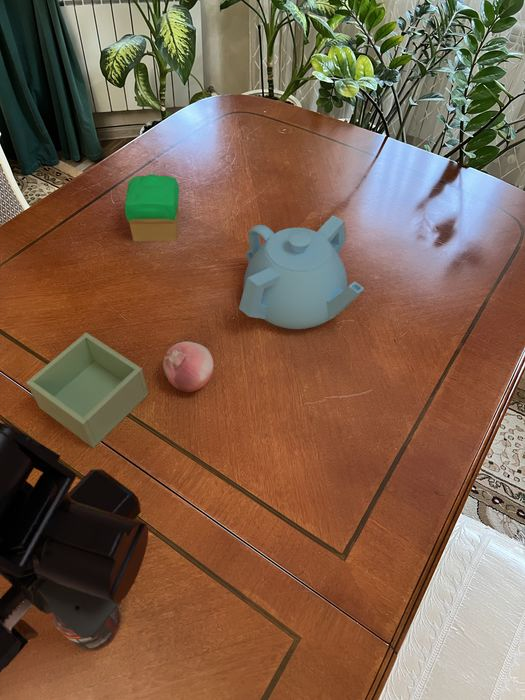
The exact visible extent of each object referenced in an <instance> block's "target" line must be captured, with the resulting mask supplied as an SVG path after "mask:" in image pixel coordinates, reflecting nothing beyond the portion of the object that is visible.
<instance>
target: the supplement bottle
mask: <svg viewBox="0 0 525 700" xmlns="http://www.w3.org/2000/svg"><path fill="white" fill-rule="evenodd" d="M118 607H119V606H117V608H116V609H115V610H114V611H113V613H112V614H111V615H110V616H109V617H108V619H107V620H106V621H105V622H104V624H103V625H102V626H101V627H100V628H99V630H98V631H97V632H96V633H95V634H94V635H93V636H91V637H89V638H81V637H79V636H78V635H76V634H75V633H74V632H73V631H72V630H71V629H70V628H69V627H68V626H66V625H65V624H64V623H63V622H62V621H61V620H60V619H59V618H58V617H56V616H55V615H54V614H53V613H50V618H51V622H52V625H53V626H54V627H55V629H56V630H57V631H58V632H60V633H61V634H62V635H63V636H64V637H65V638H67V639H68V641H70V642H71V643H73V645H75V646H76V647H78V648H79V649H81V650H84V651H87V652H94V651H99V650H102V649H103V648H106V647H107V646H108V645H110V643H112V641H114V639H115V638H116V637H117V634H118V632H119V630H120V628H121V627H120V626H121V612H120V610H119V608H118Z"/></svg>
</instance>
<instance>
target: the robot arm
mask: <svg viewBox="0 0 525 700" xmlns="http://www.w3.org/2000/svg"><path fill="white" fill-rule="evenodd" d="M60 458H61V455H60V454H58V453H57V452H55V451H53V450H52V449H50V448H49V447H47V446H45V445H44V444H42V443H40V442H39V441H37V440H35V439H34V438H32V437H31V436H29V435H27V434H26V433H25V432H23V431H21V430H20V429H18V428H16V427H14V426H13V425H10V424H8V423H2V422H0V576H1V577H3V579H4V580H6V581H7V582H8V583H9V584H11V586H10V587H9V588H8V589H7V590H6V591H5V592H4V593H3V594H2V595H1V596H0V673H1V672H2V671H3V670H5V669H6V668H7V667H8V666H9V665H10V664H11V663H12V661H13V660H14V659H15V658H16V657H17V656H18V655H19V654H20V652H21V651H22V650H23V649H24V648H25V646H27V644H28V643H29V641H30V640H33V639H35V638H37V637H38V636H39V632H38V630H36V629H35V628H34V627H33V626H31V625H30V623H28V622H27V621H26V620H24V619H22V618H23V617H24V616H26V614H27V613H28V612H29V611H30V610H31V609H32V607H34V608H36V609H37V610H38V611H39V612H41V613H44V615H48V614H51V613H53V614H54V615H55V616H56V617H58V618H59V619H60V620H61V621H62V622H63V623H64V624H65V625H66V626H68V627H69V628H70V629H71V630H72V631H73V632H74V633H75V634H76V635H78V636H79V637H81V638H89V637H91V636H93V635H94V634H95V633H96V632H97V631H98V630H99V628H100V627H101V626H102V625H103V624H104V622H105V621H106V620H107V619H108V617H109V616H110V615H111V614H112V613H113V611H114V610H115V609H116V608H117V607H119V605H120V604H121V603H122V602H123V600H124V599H125V598H126V597H127V595H128V594H129V592H130V591H131V589H132V588H133V585H134V584H135V582H136V579H137V577H138V575H139V572H140V570H141V567H142V565H143V562H144V558H145V554H146V551H147V546H148V541H149V526H148V524H147V523H145V522H142V521H139V520H136V519H137V517H138V516H140V514H141V513H142V508H141V507H142V505H141V502H140V500H139V497H138V496H137V495H136V494H135V493H134V491H133V490H132V489H131V490H130V488H128V487H127V486H126V485H124V484H123V483H121V482H120V481H118V480H117V479H116V478H115V477H113V476H112V475H111V474H110V473H108V472H107V471H105V470H104V469H101V468H99V469H98V468H97V469H96V468H95V469H90V470H89V471H88V472H87V473H86V474H85V475H84V476H83V477H82V478H81V480H79V481H78V482H77V483H76V485H74V486H73V487H72V485H73V484H74V482H75V480H76V478H77V476H78V475H77V474H76V473H75V472H74V471H72V470H71V469H70V468H68V467H67V466H65V465H64V464H62V463H61V462H59V460H60ZM34 469H35V470H37V471H39V472H41V475H40V476H39V478H38V479H37V480H36V482H35V484H34V485H32V484H31V483H30V482H29V481H28V479H29V477H30V475H31V474H32V472H33V471H34Z"/></svg>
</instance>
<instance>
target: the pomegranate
mask: <svg viewBox="0 0 525 700" xmlns="http://www.w3.org/2000/svg"><path fill="white" fill-rule="evenodd" d="M214 364H215V363H214V359H213V356H212V354H211V352H210V351H209V349H208V348H207V347H205V346H203V345H202V344H200V343H197V342H194V341H181V342H178V343H175V344H173V345H172V346H171V347H169V349H168V350H167V352H166V353H165V354H164V357H163V365H162V367H163V372H164V374H165V376H166V378H167V380H168V382H169V383H170V384H171V385H172V386H173V387H174V388H175V389H176V390H178V391H181V392H185V393H191V392H192V393H193V392H195V391H198V390H200V389H202V388H203V387H204V386H205V385H206V384H207V383H208V382H209V381H210V379H211V377H212V376H213V374H214V369H215V365H214Z"/></svg>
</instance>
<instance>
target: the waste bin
mask: <svg viewBox="0 0 525 700" xmlns="http://www.w3.org/2000/svg"><path fill="white" fill-rule="evenodd" d="M25 383H26V386H27V387H28V389H29V391H30V392H31V394H32V396H33V399H34V400H35V402H36V404H37V406H38V407H39V409H41V410H42V411H43V412H44V413H46V414H47V415H48V416H50V417H51V418H52V419H54V420H55V421H56V422H58V423H59V424H60V425H61V426H63V427H64V428H66V429H67V430H68V431H70V433H73V435H75V436H76V437H78V438H80V440H81V441H83V442H85V443H86V444H87V445H88V446H89V447H91V448H93V449H94V448H96V447H97V446H98V445H99V444H100V442H102V441H103V440H104V439H105V438H106V437H107V436H108V435H109V434H110V433H111V432H112V431H113V430H114V429H115V428H116V427H117V426H118V425H119V424H120V423H121V422H122V421H123V420H124V419H125V418H126V417H127V416H128V415H130V413H132V411H133V410H134V409H135V408H137V406H139V405H140V403H142V401H144V400H145V399H146V397H147V396H149V392H148V387H147V383H146V379H145V375H144V371H143V368H142V367H140V366H139V365H137V364H136V363H135V362H132V361H131V360H129V359H128V358H127V357H125V356H124V355H122V354H120V353H118V352H117V351H116V350H114V349H113V348H111V347H110V346H109V345H106V344H105V343H104V342H102V341H101V340H98V339H97V338H96V337H94V336H93V335H91V334H89V333H88V332H87V331H86V332H84V333H83V334H82V335H80V337H78V338H77V339H76V340H75V341H73V342H72V343H71V344H70V345H69V346H68V347H67V348H65V349H64V350H63V351H61V352H60V353H59V354H58V355H57V356H56V357H55V358H53V359H52V360H50V362H49V363H47V364H46V365H45V366H43V367H42V368H41V369H40V370H39V371H38V372H36V373H35V374H34V375H33V376H32V377H31V378H30V379H28V380H27V381H26V382H25Z"/></svg>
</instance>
